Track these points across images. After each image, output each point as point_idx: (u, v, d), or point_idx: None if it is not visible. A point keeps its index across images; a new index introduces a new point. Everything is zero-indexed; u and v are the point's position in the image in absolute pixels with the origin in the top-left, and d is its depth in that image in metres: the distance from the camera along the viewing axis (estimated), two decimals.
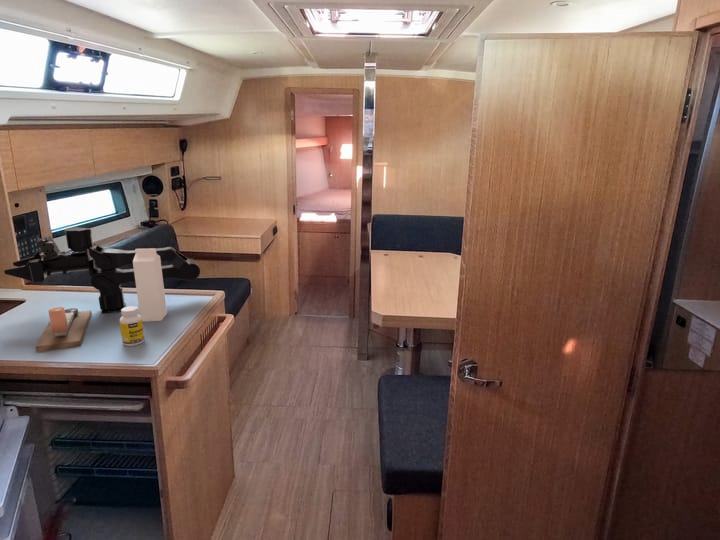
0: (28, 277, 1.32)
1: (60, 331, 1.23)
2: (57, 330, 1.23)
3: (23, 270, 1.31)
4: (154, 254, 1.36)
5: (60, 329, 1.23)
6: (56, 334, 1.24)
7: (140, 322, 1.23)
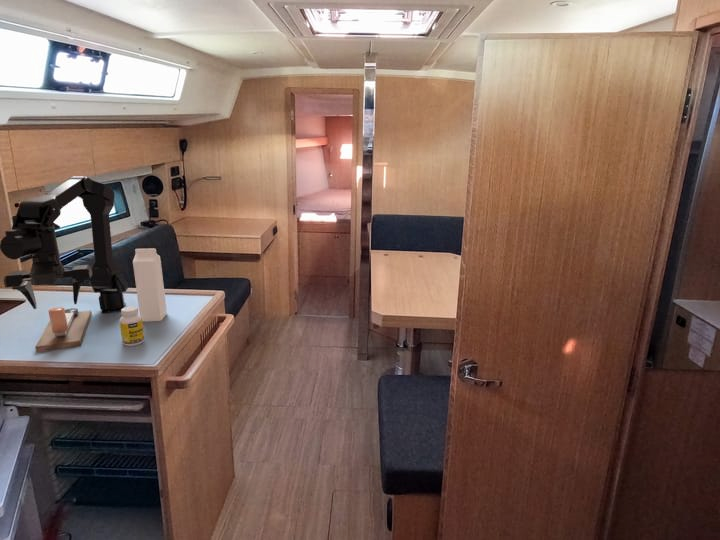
0: None
1: (60, 331, 1.23)
2: (57, 330, 1.23)
3: None
4: (154, 254, 1.36)
5: (60, 329, 1.23)
6: (56, 334, 1.24)
7: (140, 322, 1.23)
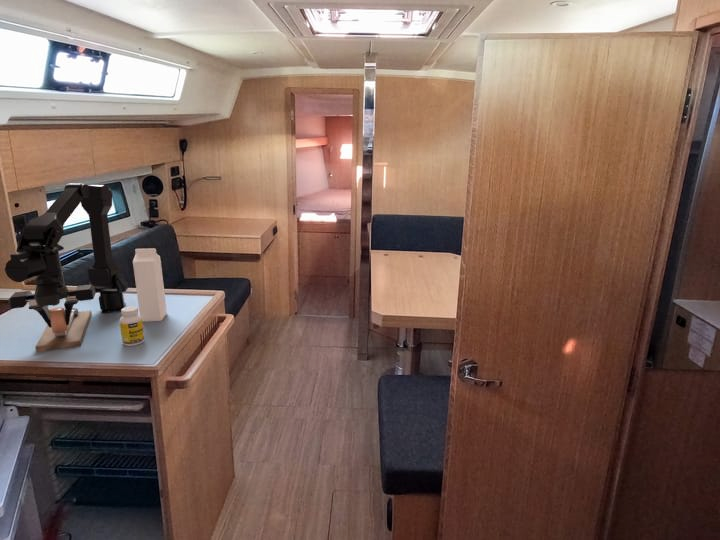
0: None
1: (60, 331, 1.23)
2: (57, 330, 1.23)
3: None
4: (154, 254, 1.36)
5: (60, 329, 1.23)
6: (56, 334, 1.24)
7: (140, 322, 1.23)
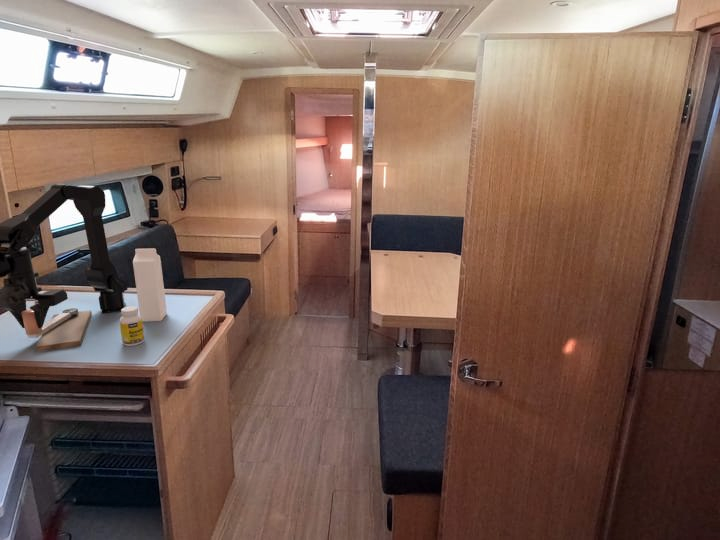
0: None
1: (30, 333, 1.22)
2: (28, 332, 1.21)
3: (40, 311, 1.21)
4: (154, 254, 1.36)
5: (30, 331, 1.21)
6: (28, 335, 1.23)
7: (140, 322, 1.23)
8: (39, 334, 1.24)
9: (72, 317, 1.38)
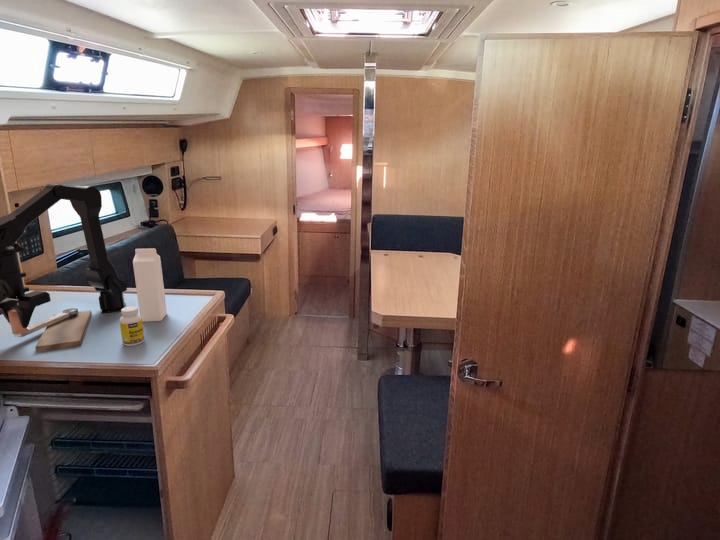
0: None
1: (15, 332, 1.22)
2: (13, 331, 1.22)
3: (24, 311, 1.21)
4: (154, 254, 1.36)
5: (15, 331, 1.22)
6: (15, 334, 1.23)
7: (140, 322, 1.23)
8: (25, 334, 1.24)
9: (72, 317, 1.38)
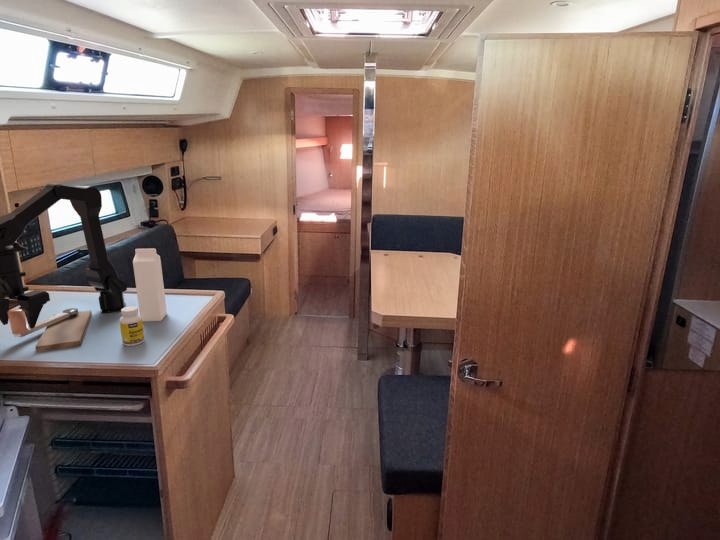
0: (40, 306, 1.22)
1: (15, 332, 1.22)
2: (12, 331, 1.22)
3: (31, 312, 1.21)
4: (154, 254, 1.36)
5: (15, 330, 1.22)
6: (14, 334, 1.23)
7: (140, 322, 1.23)
8: (24, 334, 1.24)
9: (72, 317, 1.38)
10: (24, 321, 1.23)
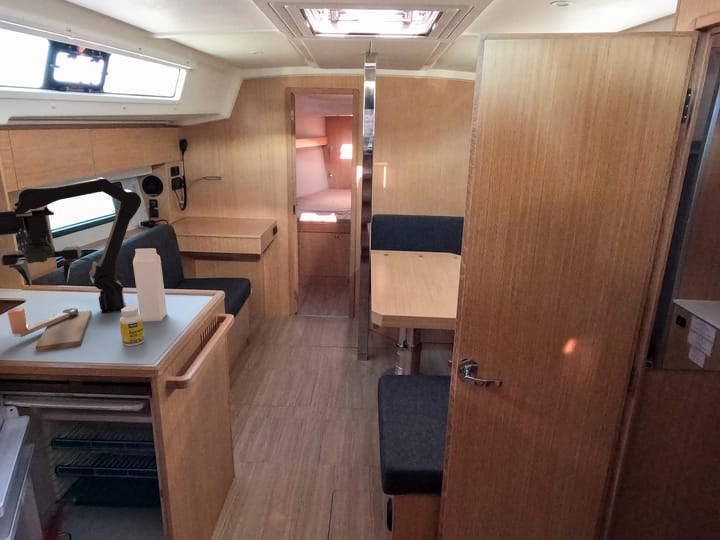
0: None
1: (15, 332, 1.22)
2: (12, 331, 1.22)
3: None
4: (154, 254, 1.36)
5: (15, 330, 1.22)
6: (14, 334, 1.23)
7: (140, 322, 1.23)
8: (24, 334, 1.24)
9: (72, 317, 1.38)
10: (24, 321, 1.23)
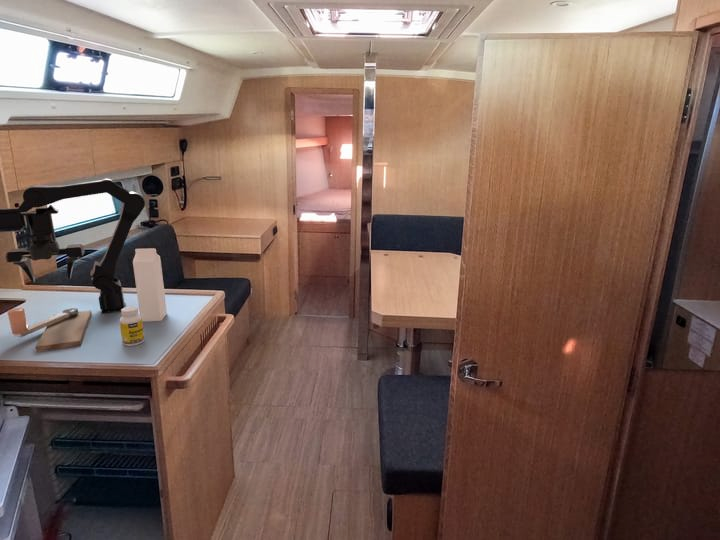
0: None
1: (15, 332, 1.22)
2: (12, 331, 1.22)
3: None
4: (154, 254, 1.36)
5: (15, 330, 1.22)
6: (14, 334, 1.23)
7: (140, 322, 1.23)
8: (24, 334, 1.24)
9: (72, 317, 1.38)
10: (24, 321, 1.23)
